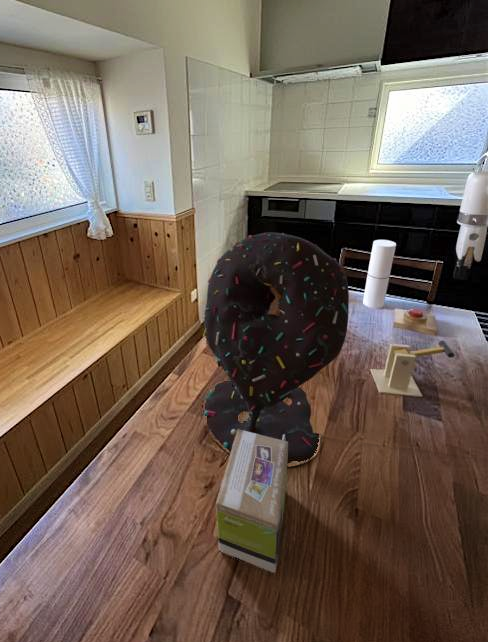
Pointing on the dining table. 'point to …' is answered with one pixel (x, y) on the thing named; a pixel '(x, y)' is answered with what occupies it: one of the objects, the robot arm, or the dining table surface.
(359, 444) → the dining table surface
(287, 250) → the chocolate sprinkled donut
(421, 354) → the switch lever
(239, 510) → the tea box
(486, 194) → the robot arm
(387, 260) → the cylindrical container
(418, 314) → the lamp button
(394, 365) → the switch bracket
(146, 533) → the dining table surface
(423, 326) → the button block
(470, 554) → the dining table surface
